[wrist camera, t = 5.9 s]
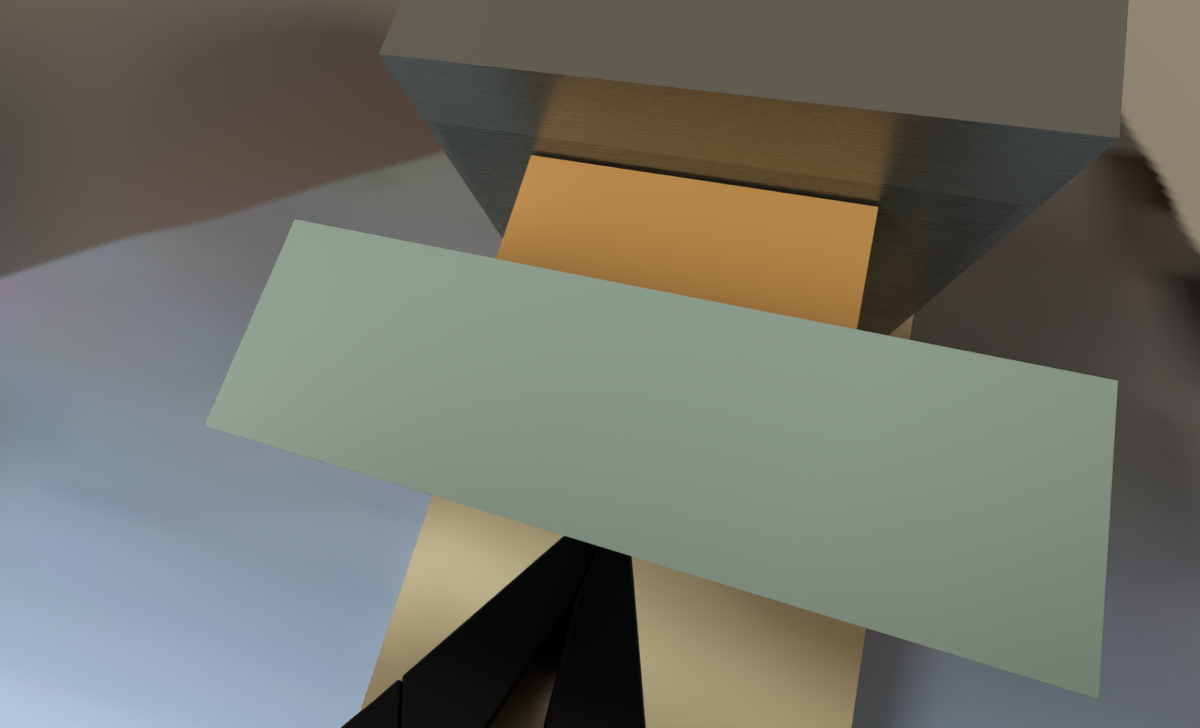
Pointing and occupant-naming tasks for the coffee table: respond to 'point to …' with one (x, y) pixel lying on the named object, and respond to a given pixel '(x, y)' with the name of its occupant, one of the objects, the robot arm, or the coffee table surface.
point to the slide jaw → (702, 439)
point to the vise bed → (642, 628)
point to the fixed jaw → (784, 106)
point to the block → (694, 238)
